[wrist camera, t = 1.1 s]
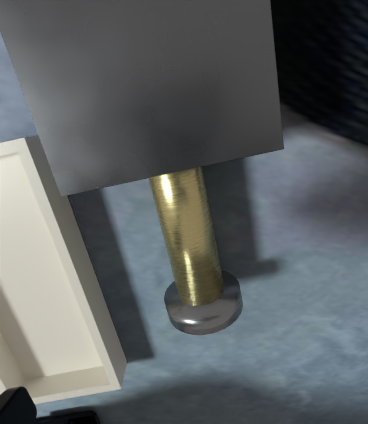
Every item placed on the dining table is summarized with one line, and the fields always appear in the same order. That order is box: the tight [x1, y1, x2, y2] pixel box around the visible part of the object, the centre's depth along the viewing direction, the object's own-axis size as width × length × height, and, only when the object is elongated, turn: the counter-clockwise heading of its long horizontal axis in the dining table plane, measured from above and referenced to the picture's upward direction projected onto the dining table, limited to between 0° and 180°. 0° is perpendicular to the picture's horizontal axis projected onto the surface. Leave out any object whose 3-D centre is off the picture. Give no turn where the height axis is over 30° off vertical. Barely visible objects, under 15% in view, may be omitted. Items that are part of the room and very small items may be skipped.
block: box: [0, 0, 284, 197], centre depth 13 cm, size 8×9×6 cm
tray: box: [0, 136, 127, 404], centre depth 18 cm, size 17×8×2 cm, turn 12°
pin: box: [149, 167, 243, 335], centre depth 15 cm, size 13×5×5 cm, turn 12°
